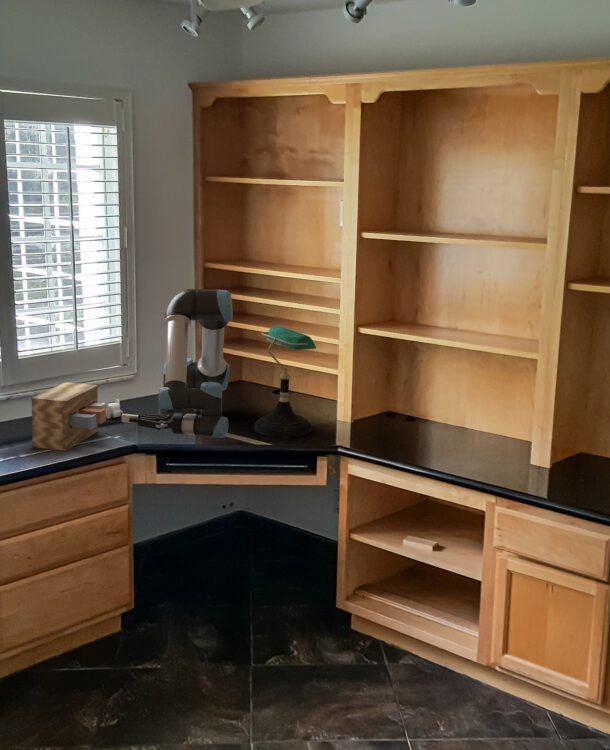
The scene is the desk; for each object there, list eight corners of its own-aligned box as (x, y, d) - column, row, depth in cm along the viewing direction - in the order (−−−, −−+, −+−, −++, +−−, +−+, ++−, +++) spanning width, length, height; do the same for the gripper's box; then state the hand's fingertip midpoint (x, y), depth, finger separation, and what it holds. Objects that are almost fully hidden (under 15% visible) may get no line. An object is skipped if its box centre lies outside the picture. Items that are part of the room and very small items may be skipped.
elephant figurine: (112, 421, 348) (112, 404, 346) (96, 417, 353) (96, 399, 352) (127, 418, 354) (127, 401, 352) (111, 413, 359) (111, 396, 358)
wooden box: (97, 431, 334) (97, 385, 330) (66, 450, 309) (65, 401, 305) (65, 427, 336) (65, 382, 332) (32, 447, 311) (31, 397, 308)
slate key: (96, 426, 313) (96, 414, 312) (91, 429, 309) (91, 417, 308) (65, 423, 315) (64, 411, 314) (59, 426, 311) (59, 414, 310)
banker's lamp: (325, 435, 342) (330, 334, 333) (273, 442, 330) (277, 337, 321) (291, 418, 364) (295, 323, 355) (241, 424, 352) (244, 326, 343)
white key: (106, 414, 329) (105, 402, 328) (101, 417, 325) (101, 405, 324) (76, 411, 331) (76, 400, 330) (70, 414, 327) (70, 402, 326)
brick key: (105, 420, 321) (105, 408, 320) (100, 423, 316) (100, 411, 315) (75, 417, 323) (74, 405, 322) (69, 420, 318) (69, 408, 318)
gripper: (178, 438, 307) (115, 432, 311) (190, 429, 319) (129, 423, 324) (178, 418, 305) (115, 412, 310) (190, 409, 318) (129, 403, 322)
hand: (122, 417), depth 317 cm, fingers closed
